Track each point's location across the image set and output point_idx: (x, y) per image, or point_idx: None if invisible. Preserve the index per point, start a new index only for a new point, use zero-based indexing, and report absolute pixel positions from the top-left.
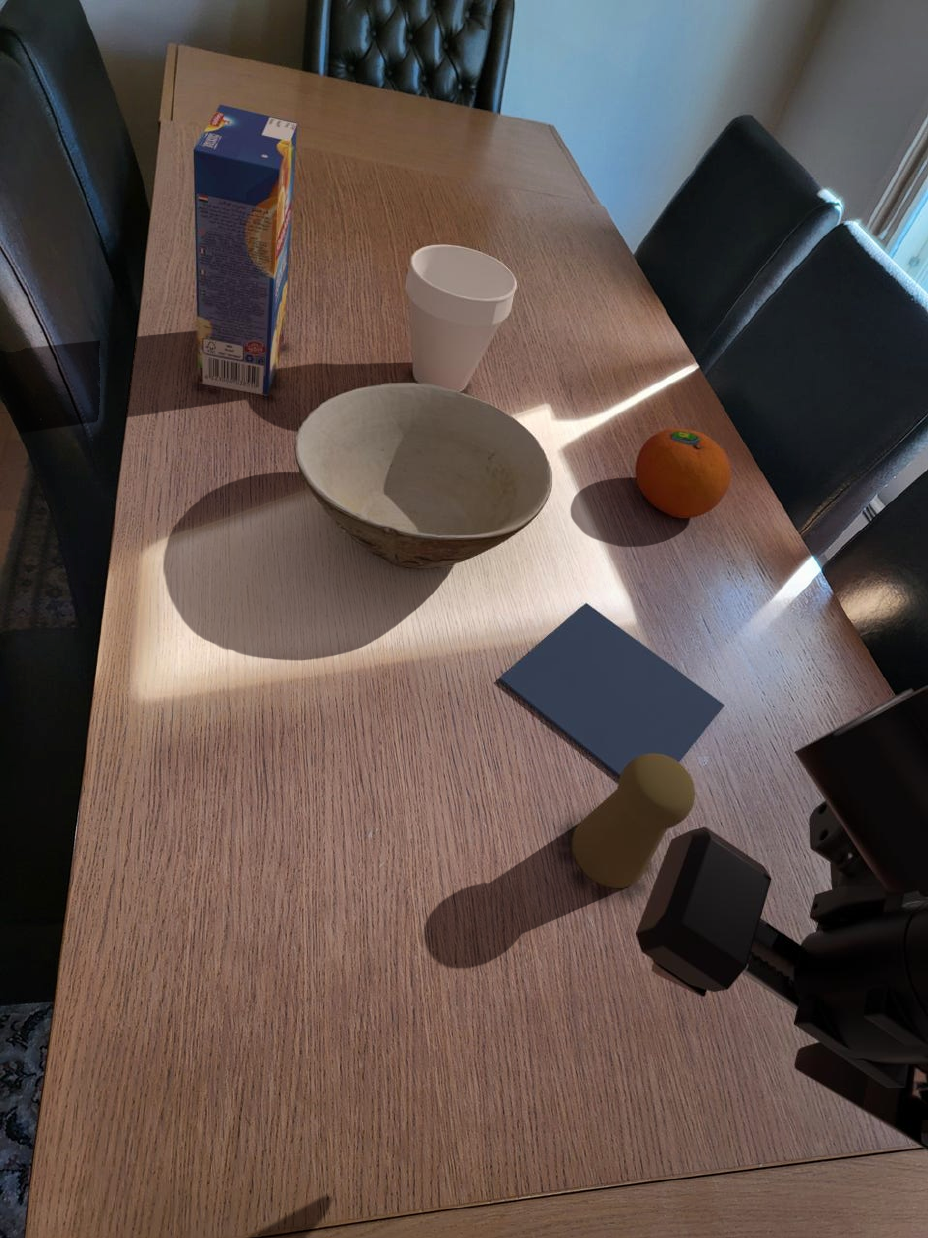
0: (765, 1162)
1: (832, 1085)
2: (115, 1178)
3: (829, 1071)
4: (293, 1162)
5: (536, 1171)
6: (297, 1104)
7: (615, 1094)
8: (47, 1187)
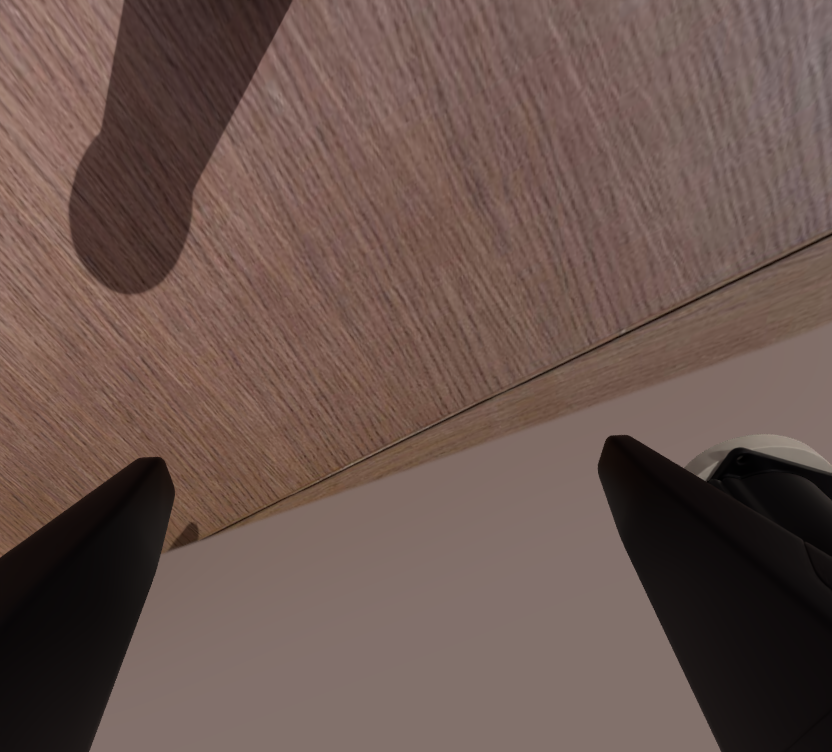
0: (631, 325)
1: (668, 629)
2: None
3: (666, 586)
4: None
5: (349, 443)
6: None
7: (407, 337)
8: None
